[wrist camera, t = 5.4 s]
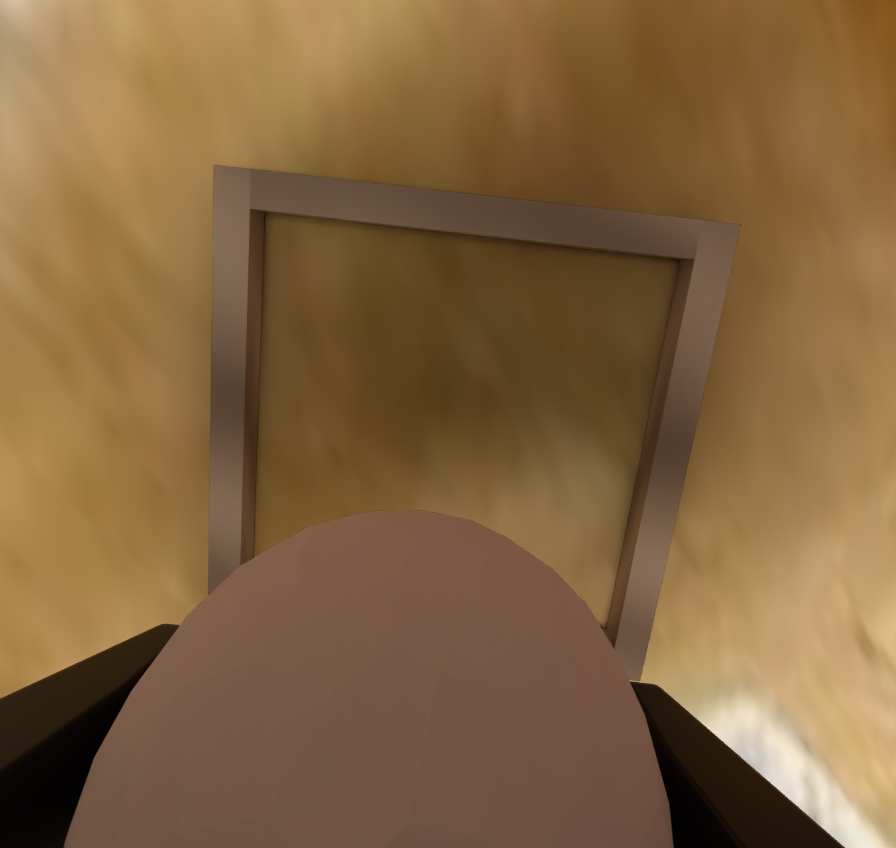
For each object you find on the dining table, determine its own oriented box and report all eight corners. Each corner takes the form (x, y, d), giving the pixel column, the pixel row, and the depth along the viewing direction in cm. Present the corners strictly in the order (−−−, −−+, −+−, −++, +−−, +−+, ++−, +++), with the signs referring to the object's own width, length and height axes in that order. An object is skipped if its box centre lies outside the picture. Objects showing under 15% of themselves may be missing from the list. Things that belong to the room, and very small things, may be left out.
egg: (386, 799, 10) (199, 1927, 3) (180, 565, 10) (-692, 1451, 2) (657, 645, 10) (1197, 1767, 2) (459, 369, 9) (380, 868, 1)
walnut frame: (630, 658, 21) (639, 681, 20) (222, 607, 21) (207, 627, 20) (723, 227, 17) (740, 224, 16) (231, 171, 17) (213, 164, 16)
